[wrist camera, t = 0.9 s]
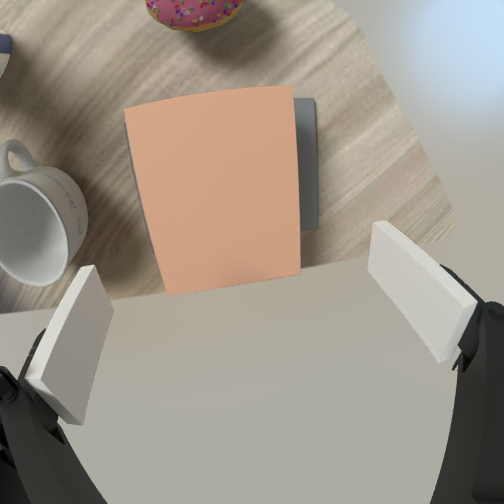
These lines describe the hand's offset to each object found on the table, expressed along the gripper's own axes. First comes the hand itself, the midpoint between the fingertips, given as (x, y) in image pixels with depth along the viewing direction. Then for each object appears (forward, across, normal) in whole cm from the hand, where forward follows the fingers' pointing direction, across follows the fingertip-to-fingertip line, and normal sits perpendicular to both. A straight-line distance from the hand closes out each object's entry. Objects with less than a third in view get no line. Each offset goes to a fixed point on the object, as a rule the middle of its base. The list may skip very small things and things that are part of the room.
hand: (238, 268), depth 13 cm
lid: (+12, 0, 0) cm, 12 cm away
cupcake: (+17, 0, +18) cm, 25 cm away
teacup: (+17, -18, +2) cm, 25 cm away
